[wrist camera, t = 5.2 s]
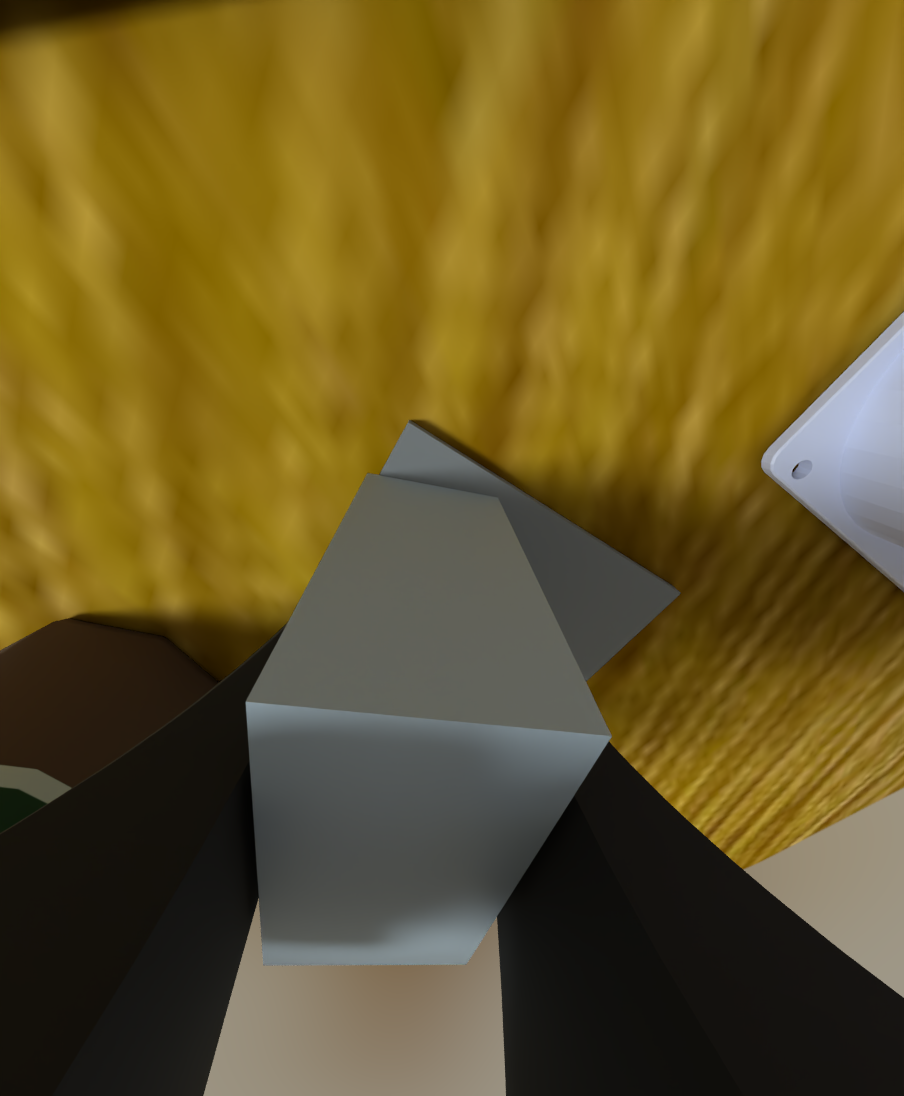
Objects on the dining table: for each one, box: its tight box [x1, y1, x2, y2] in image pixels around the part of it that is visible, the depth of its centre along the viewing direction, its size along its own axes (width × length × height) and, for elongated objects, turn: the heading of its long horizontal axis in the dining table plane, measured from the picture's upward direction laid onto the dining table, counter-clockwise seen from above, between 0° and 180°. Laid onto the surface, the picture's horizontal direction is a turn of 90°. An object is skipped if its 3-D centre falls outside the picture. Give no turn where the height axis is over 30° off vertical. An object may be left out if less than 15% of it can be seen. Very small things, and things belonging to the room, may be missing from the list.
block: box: [246, 473, 612, 965], centre depth 8 cm, size 4×6×7 cm, turn 168°
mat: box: [379, 420, 681, 681], centre depth 13 cm, size 10×12×1 cm
